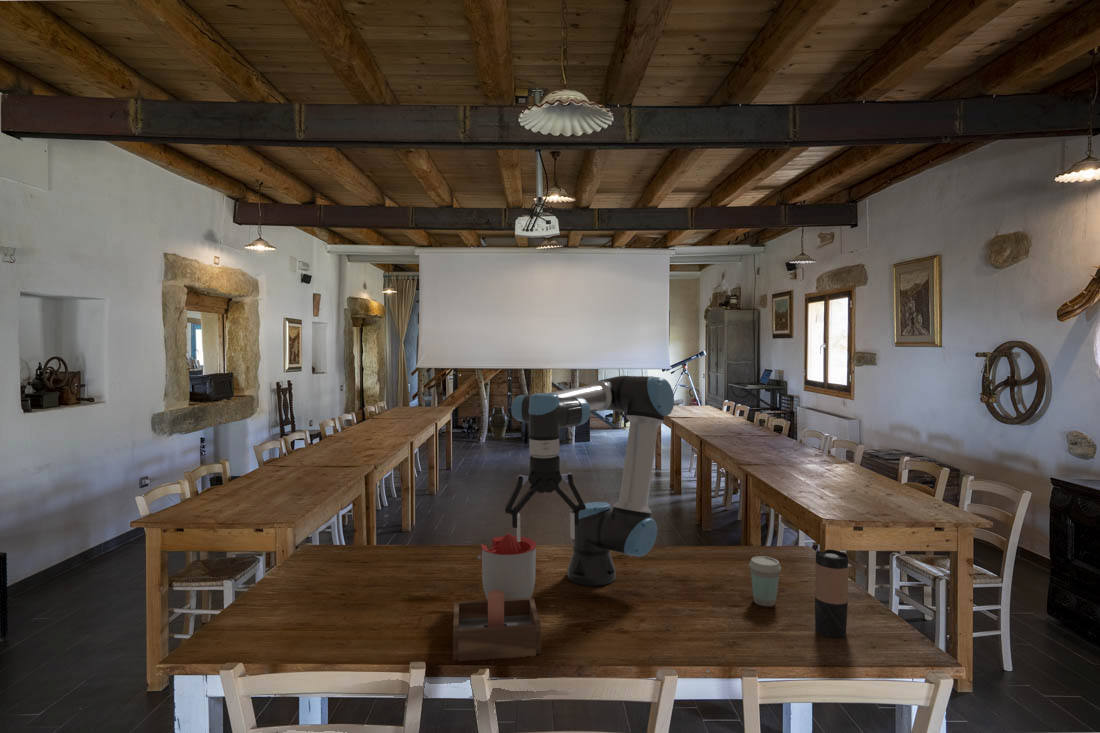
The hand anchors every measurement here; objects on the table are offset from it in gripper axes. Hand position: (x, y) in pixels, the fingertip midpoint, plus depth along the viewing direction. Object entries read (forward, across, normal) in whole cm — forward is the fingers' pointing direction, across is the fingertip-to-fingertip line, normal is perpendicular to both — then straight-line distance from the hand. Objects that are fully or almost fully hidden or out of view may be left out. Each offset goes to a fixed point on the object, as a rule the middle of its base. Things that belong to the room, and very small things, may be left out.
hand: (545, 538), depth 152 cm
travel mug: (+26, +72, -8) cm, 77 cm away
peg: (+24, -13, -4) cm, 27 cm away
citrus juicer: (+24, -10, +19) cm, 32 cm away
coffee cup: (+26, +64, +11) cm, 69 cm away
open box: (+24, -13, -3) cm, 27 cm away
